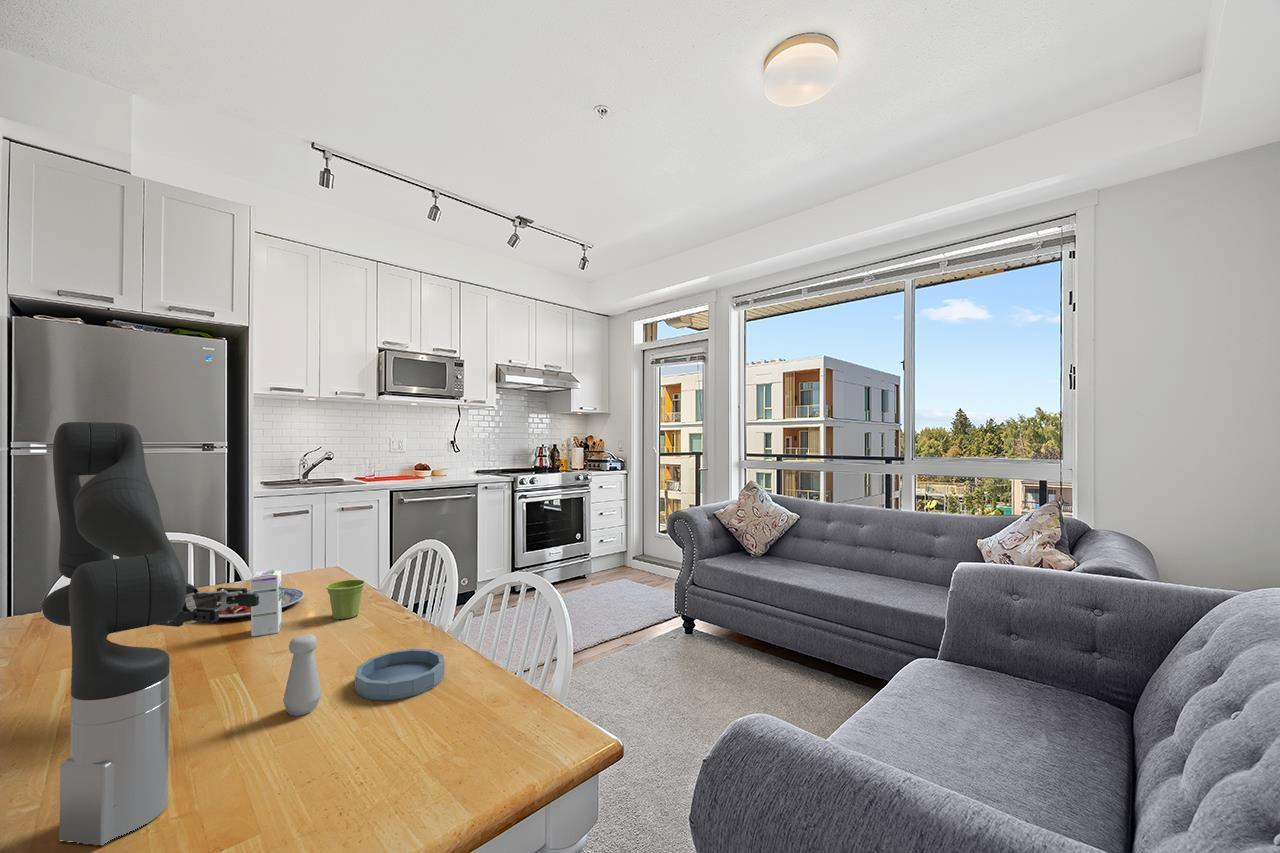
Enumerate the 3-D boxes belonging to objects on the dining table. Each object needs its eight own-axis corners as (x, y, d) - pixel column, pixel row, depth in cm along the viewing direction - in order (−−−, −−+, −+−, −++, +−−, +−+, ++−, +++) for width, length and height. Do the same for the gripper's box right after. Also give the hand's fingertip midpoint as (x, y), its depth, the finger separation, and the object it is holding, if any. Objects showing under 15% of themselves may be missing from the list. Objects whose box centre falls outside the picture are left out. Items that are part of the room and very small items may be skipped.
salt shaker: (303, 720, 94) (303, 644, 94) (274, 716, 95) (275, 641, 96) (328, 703, 100) (329, 632, 100) (301, 700, 101) (302, 629, 101)
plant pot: (317, 620, 144) (317, 587, 144) (345, 609, 153) (346, 578, 153) (345, 623, 142) (345, 590, 142) (373, 612, 151) (373, 580, 151)
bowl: (417, 703, 100) (417, 685, 100) (336, 697, 102) (337, 680, 102) (457, 666, 116) (457, 651, 116) (386, 662, 118) (387, 647, 118)
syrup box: (279, 633, 135) (279, 574, 135) (249, 637, 132) (250, 577, 132) (281, 626, 140) (282, 568, 140) (253, 629, 137) (254, 571, 137)
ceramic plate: (195, 632, 136) (195, 620, 136) (188, 607, 155) (188, 597, 155) (313, 609, 154) (313, 599, 154) (294, 590, 173) (294, 580, 173)
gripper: (118, 594, 95) (202, 598, 93) (195, 572, 109) (269, 576, 107) (118, 637, 95) (201, 643, 93) (195, 610, 109) (269, 615, 107)
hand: (238, 607), depth 100 cm, fingers open, 8 cm apart
